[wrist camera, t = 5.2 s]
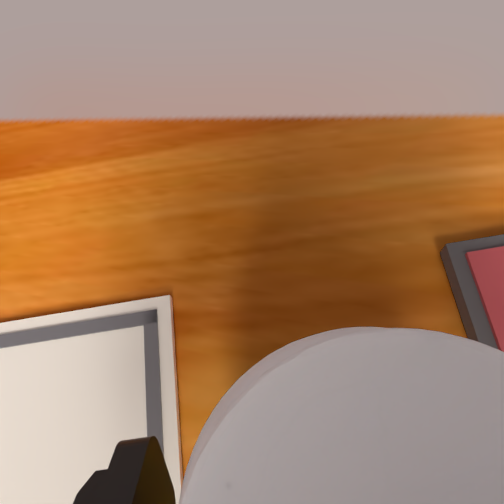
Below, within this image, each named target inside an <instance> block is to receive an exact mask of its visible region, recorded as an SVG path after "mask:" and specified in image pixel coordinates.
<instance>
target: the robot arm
mask: <svg viewBox="0 0 504 504" xmlns="http://www.w3.org/2000/svg"><path fill="white" fill-rule="evenodd" d="M73 504H176V500H175V492H174V487H173V484H172V481H171V478H170V475H169V472H168V469H167V466H166V463H165V460H164V456H163V453H162V450H161V447H160V444H159V441H158V439H157V438H156V437H155V436H149V437H143V438H136V439H129V440H122V441H119V442H118V444H117V445H116V447H115V450H114V453H113V456H112V458H111V461H110V464H109V467H108V469H104V470H97V471H95V472H94V473H93V474H92V476H91V477H90V478H89V479H88V481H87V482H86V483H85V484H84V485H83V487H82V488H81V489H80V490H79V492H78V493H77V495H76V497H75V499H74V502H73Z"/></svg>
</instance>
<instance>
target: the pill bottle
mask: <svg viewBox="0 0 504 504" xmlns="http://www.w3.org/2000/svg"><path fill="white" fill-rule="evenodd" d="M179 504H504V352H503V351H500V350H498V349H495V348H493V347H490V346H488V345H485V344H483V343H480V342H477V341H474V340H471V339H467V338H463V337H460V336H456V335H451V334H447V333H443V332H438V331H431V330H424V329H414V328H383V327H349V328H341V329H335V330H329V331H326V332H322V333H319V334H315V335H312V336H308V337H305V338H302V339H300V340H297V341H294V342H291V343H289V344H287V345H286V346H284V347H282V348H280V349H278V350H276V351H274V352H272V353H271V354H269V355H267V356H266V357H265V358H263V359H262V360H260V361H259V362H258V363H256V364H255V365H254V366H252V367H251V368H250V369H249V370H248V371H247V372H246V373H244V374H243V375H242V376H241V377H240V378H239V379H238V380H237V381H236V382H235V383H234V384H233V385H232V387H231V388H230V389H229V390H228V391H227V392H226V393H225V395H224V396H223V397H222V398H221V400H220V401H219V403H218V404H217V405H216V407H215V408H214V410H213V411H212V413H211V415H210V416H209V418H208V420H207V421H206V423H205V425H204V426H203V428H202V430H201V433H200V435H199V437H198V439H197V442H196V444H195V446H194V448H193V451H192V454H191V457H190V459H189V462H188V465H187V468H186V472H185V476H184V479H183V483H182V488H181V493H180V499H179Z"/></svg>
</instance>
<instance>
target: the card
mask: <svg viewBox="0 0 504 504" xmlns="http://www.w3.org/2000/svg"><path fill="white" fill-rule="evenodd" d="M149 436H155V437H156V438H157V439H158V441H159V444H160V447H161V450H162V453H163V456H164V460H165V463H166V466H167V469H168V472H169V475H170V478H171V481H172V484H173V487H174V492H175V500H176V504H179V499H180V493H181V488H182V483H183V471H182V454H181V437H180V421H179V404H178V387H177V371H176V354H175V337H174V321H173V304H172V297H171V296H170V295H166V296H160V297H154V298H148V299H142V300H136V301H130V302H124V303H118V304H112V305H106V306H100V307H94V308H88V309H81V310H75V311H69V312H63V313H57V314H51V315H45V316H39V317H33V318H27V319H21V320H15V321H9V322H3V323H0V504H73V502H74V499H75V497H76V495H77V493H78V492H79V490H80V489H81V488H82V487H83V485H84V484H85V483H86V482H87V481H88V479H89V478H90V477H91V476H92V474H93V473H94V472H95V471H97V470H104V469H108V467H109V464H110V461H111V458H112V456H113V453H114V450H115V447H116V445H117V444H118V442H119V441H122V440H129V439H136V438H143V437H149Z"/></svg>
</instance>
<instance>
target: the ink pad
mask: <svg viewBox="0 0 504 504" xmlns="http://www.w3.org/2000/svg"><path fill="white" fill-rule="evenodd" d="M440 255H441V258H442V261H443V264H444V267H445V270H446V273H447V276H448V279H449V282H450V285H451V288H452V291H453V294H454V297H455V300H456V304H457V307H458V310H459V313H460V316H461V319H462V322H463V325H464V328H465V331H466V334H467V337H468V339H471V340H474V341H477V342H480V343H483V344H485V345H488V346H490V347H493V348H495V349H498V350H500V351H503V352H504V234H503V235H497V236H491V237H485V238H479V239H473V240H467V241H461V242H455V243H449V244H445V246H444V247H443V249H442V250H441V252H440Z"/></svg>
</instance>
